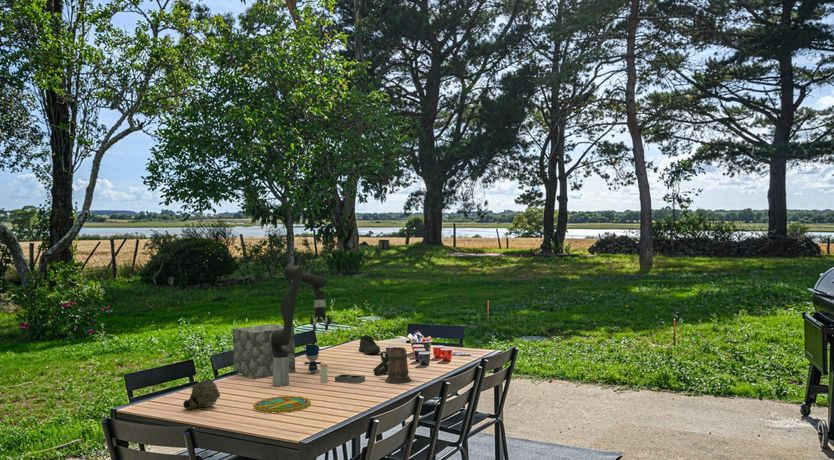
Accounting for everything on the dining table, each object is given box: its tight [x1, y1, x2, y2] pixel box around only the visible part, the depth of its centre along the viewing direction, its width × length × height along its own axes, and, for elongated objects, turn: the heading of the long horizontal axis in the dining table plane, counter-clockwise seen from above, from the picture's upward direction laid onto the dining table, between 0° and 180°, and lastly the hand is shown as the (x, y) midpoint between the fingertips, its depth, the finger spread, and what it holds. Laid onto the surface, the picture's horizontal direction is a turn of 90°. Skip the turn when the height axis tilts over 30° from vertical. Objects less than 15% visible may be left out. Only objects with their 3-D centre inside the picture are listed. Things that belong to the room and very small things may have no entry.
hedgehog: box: [182, 378, 221, 410], centre depth 354 cm, size 18×14×15 cm
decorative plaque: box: [252, 395, 311, 414], centre depth 352 cm, size 30×3×30 cm
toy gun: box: [372, 352, 389, 377], centre depth 431 cm, size 22×5×15 cm
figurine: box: [303, 343, 323, 374], centre depth 438 cm, size 13×9×20 cm
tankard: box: [377, 346, 413, 385], centre depth 409 cm, size 24×17×20 cm
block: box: [232, 323, 296, 380], centre depth 445 cm, size 30×30×30 cm
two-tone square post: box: [319, 362, 328, 384], centre depth 409 cm, size 4×4×11 cm
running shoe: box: [358, 334, 381, 355], centre depth 510 cm, size 11×30×14 cm, turn 30°
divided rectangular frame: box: [334, 373, 366, 384], centre depth 410 cm, size 8×17×3 cm, turn 66°
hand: (320, 330), depth 442 cm, fingers open, 8 cm apart
